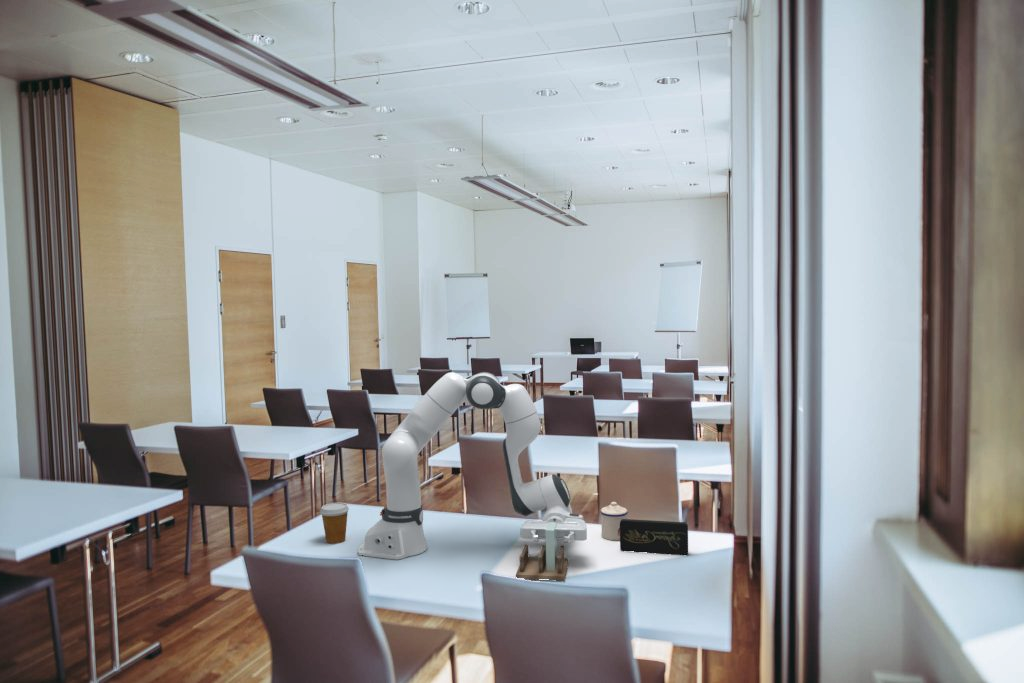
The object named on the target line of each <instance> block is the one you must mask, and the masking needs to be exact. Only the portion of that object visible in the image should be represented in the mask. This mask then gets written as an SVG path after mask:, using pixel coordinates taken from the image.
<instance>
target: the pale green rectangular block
mask: <svg viewBox="0 0 1024 683" xmlns="http://www.w3.org/2000/svg"><path fill="white" fill-rule="evenodd" d="M545 533H546V539H545V545H546V571H555V569H556V566H557V558H558V540H557V525H556V523H548V524H547V527H546V530H545Z"/></svg>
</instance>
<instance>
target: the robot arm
mask: <svg viewBox="0 0 1024 683" xmlns="http://www.w3.org/2000/svg"><path fill="white" fill-rule="evenodd" d="M466 402H468V403H469V404H470V405H471V406H473V407H474V408H476V409H479V410H492V409H497V410H499V412H500V413H501V416H502V418H503V421H504V423H505V427H506V436H505V438H504V440H503V442H502V452H503V458H504V463H505V469H506V474H507V479H508V480H507V481H508V484H509V491H510V493H509V494H510V501H511V506H512V508H513V511H514V512H516V513H517V514H519V515H520V516H524V517H528V516H530V515H532V514H534V513H536V512H539V511H542V510H545V513H544V515H543V517H542V520H526V521H524V522H523V523H522V524H521V526H520V528H519V532H520V533H519V535H520V538H521V539H523V540H526V539H527V540H532V542H534V543H535V542H538V543H539V540H546V533H545V530H546V527H547V524H548V523H556V525H557V541H564V543H567V544H570V543H571V542H572V541H581V542H582V541H586V540H587V539H588V538H587V536H588V534H587V523H586V521H585V520H584V515H582V514H577V513H573V509H572V506H571V493H570V491H569V488H568V485H567V484H566V482H565V481H564V480H563V478H562V477H561V476H559V475H556V474H554V473H552V474H549V475H546V476H543V477H541V478H537V479H534V480H532V481H528V482H523V480H522V473H521V470H520V464H519V456H520V454H521V453H522V452H523V451H524V450H525V449H526V448H527V447H528V446H530V445H531V444H532V443H533V442H534V441H535V440H536V439H537V438H538V436H539V434H540V432H541V429H542V428H541V427H542V424H541V420H540V416H539V413H538V411H537V409H536V406H535V404H534V402H533V399H532V397H531V395H530V394H529V392H528V391H527V389H526V387H525V386H523V385H522V384H521V383H511V384H508V385H502V384H501V382H500V380H499V378H498V377H497V376H496V375H494V374H493V373H491V372H487V371H483V372H482V371H481V372H478V373H475V374H472V375H471V376H468V377H466V378H465V377H463V376H462V375H461V374H459V373H457V372H453V371H452V372H447V373H445V374H444V375H443V376H442V377H440V378H439V379H438V380H437V381H436V382H435V383H434V384H433V385H432V386H431V387H430V388H429V389H427V391H426V392H425V393H424V395H423V396H422V397H421V398H420V400H418V402H417V403H416V405H415V406H414V407H413V408H412V409H411V410H410V412H409V413H408V414H407V416H405V417H404V419H403V420H402V422H401V423H399V425H398V426H397V427H396V428H395V430H393V432H392V433H391V434H390V436H388V438H387V439H386V441H385V442H384V444H383V445H382V448H381V458H382V467H383V474H384V479H385V487H386V488H385V489H386V491H385V492H386V493H385V494H386V504H385V505H384V507H383V508H382V509H381V510H380V513H379V516H380V517H381V519H379V520H378V521H377V522H376V523H375V524H374V525H371V527H370V528H369V529H368V530H367V531H366V533H365V538H364V542H363V543H362V544H361V545H360V546H359V547H358V548H357V555H358V556H362V555H363V557H371V558H378V559H379V558H380V559H386V560H387V559H388V560H396V561H397V560H401V559H404V558H407V557H413V556H416V555H419V554H420V555H421V554H422V553H424V552H426V550H428V544H427V540H426V537H425V532H424V527H423V522H424V511H423V510H424V509H423V505H422V498H421V497H422V496H421V479H420V472H419V462H418V457H419V456H418V455H419V454H420V453H421V451H422V450H423V449H424V448H425V447H426V445H428V443H429V442H430V441H431V440H432V439H433V438H434V436H436V434H437V433H438V432H439V431H440V430H441V429H442V428H443V426H444V425H445V424H446V423H447V422H448V421H449V420H450V418H451V417H452V415H453V414H454V413H455V412H456V411H457V410H458V408H459V407H460V406H461V405H462V404H463V403H466Z"/></svg>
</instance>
